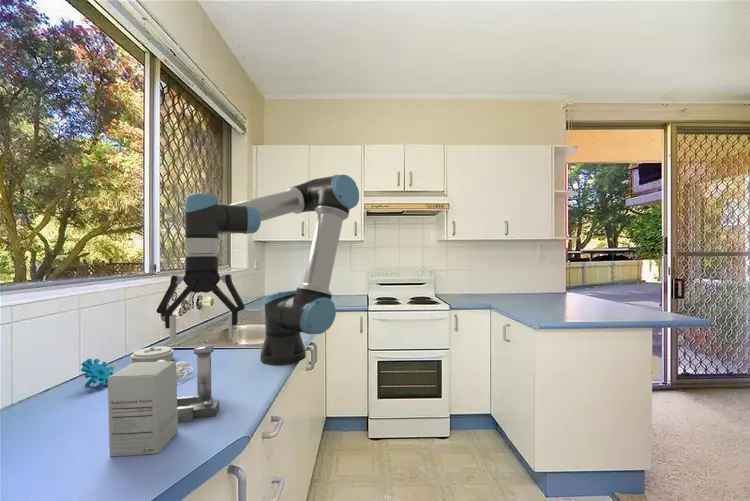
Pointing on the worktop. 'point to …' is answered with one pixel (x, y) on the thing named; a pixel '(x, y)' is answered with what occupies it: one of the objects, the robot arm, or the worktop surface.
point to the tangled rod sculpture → (181, 369)
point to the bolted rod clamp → (195, 408)
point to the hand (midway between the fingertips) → (202, 340)
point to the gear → (96, 371)
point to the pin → (204, 371)
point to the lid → (153, 354)
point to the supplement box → (142, 408)
